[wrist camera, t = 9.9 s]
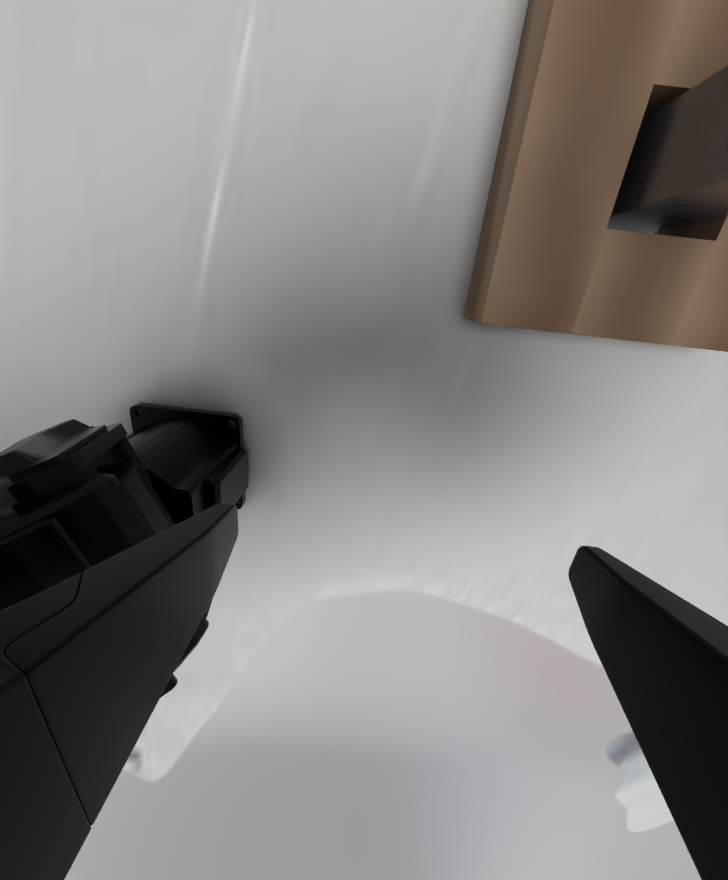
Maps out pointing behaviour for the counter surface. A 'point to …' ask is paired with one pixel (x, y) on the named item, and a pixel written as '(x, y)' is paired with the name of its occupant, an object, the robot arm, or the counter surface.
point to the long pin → (678, 162)
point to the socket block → (599, 179)
